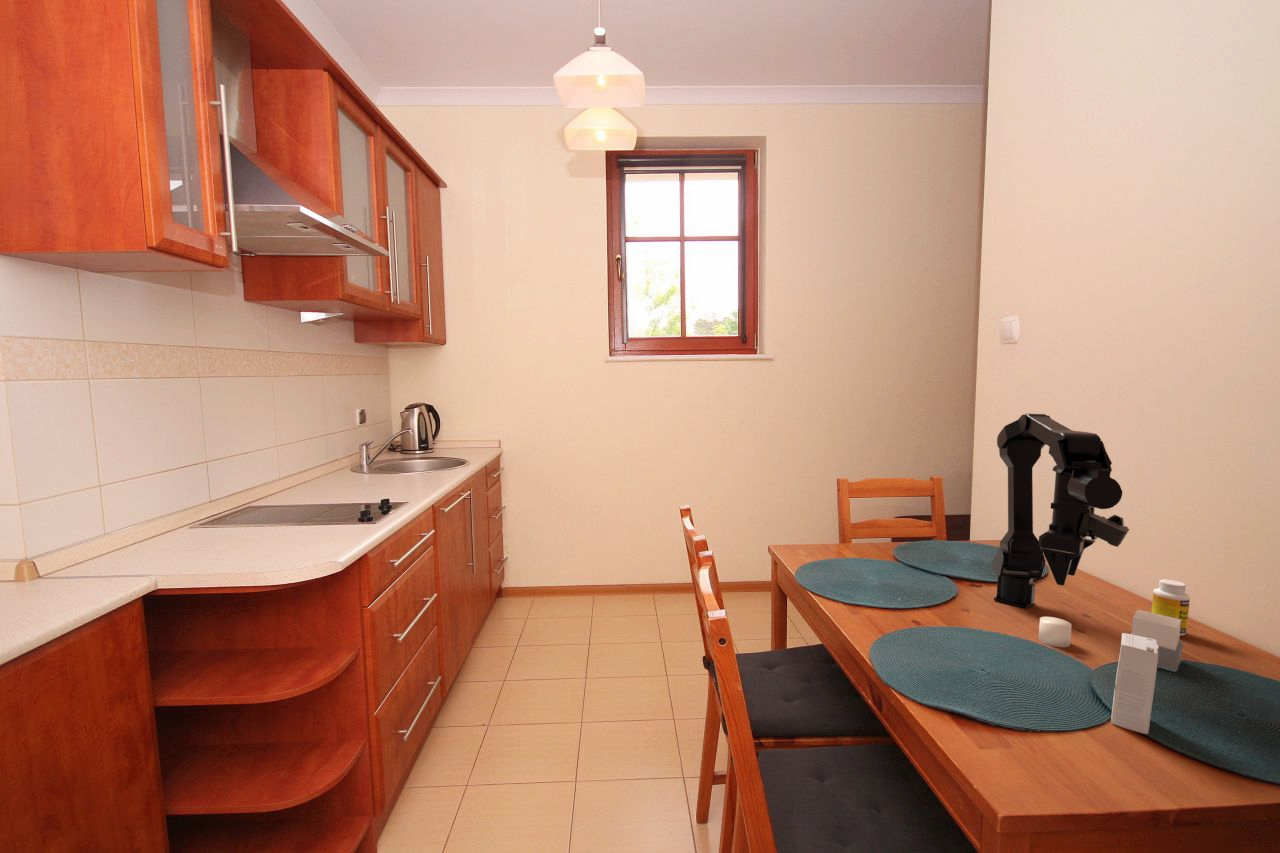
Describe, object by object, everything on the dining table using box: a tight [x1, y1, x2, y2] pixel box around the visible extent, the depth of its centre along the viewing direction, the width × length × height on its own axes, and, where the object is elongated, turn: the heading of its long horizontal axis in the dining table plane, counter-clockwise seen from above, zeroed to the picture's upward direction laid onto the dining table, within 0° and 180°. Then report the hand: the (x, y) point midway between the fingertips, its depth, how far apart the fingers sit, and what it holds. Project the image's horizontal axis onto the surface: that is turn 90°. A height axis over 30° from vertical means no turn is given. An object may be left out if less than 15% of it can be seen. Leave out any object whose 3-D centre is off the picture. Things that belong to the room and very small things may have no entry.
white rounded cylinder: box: [1038, 616, 1073, 648], centre depth 115 cm, size 5×5×4 cm
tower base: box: [1129, 630, 1184, 670], centre depth 108 cm, size 7×7×4 cm
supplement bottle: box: [1150, 578, 1191, 637], centre depth 121 cm, size 6×6×10 cm
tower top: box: [1130, 609, 1181, 650], centre depth 107 cm, size 6×6×4 cm
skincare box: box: [1110, 632, 1159, 735], centre depth 86 cm, size 6×4×12 cm
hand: (1065, 579), depth 114 cm, fingers open, 9 cm apart
